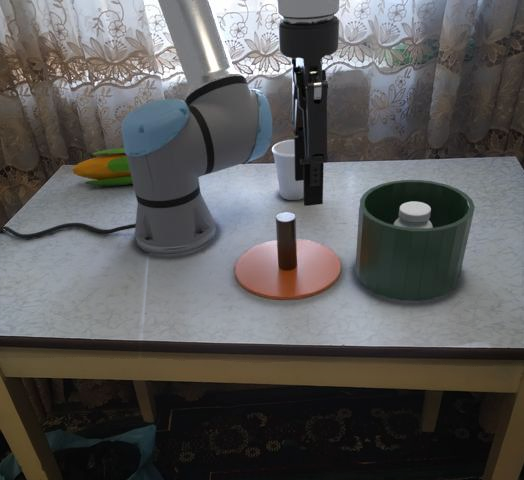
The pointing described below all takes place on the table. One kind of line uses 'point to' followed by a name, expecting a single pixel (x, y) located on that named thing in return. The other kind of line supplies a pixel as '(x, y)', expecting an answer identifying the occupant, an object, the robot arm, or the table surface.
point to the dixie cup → (287, 171)
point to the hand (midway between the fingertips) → (308, 190)
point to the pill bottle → (414, 215)
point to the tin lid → (287, 265)
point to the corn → (106, 169)
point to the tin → (412, 240)
